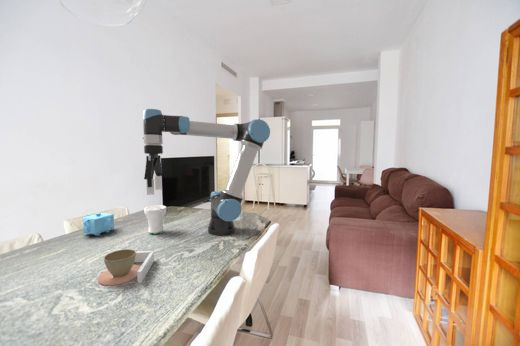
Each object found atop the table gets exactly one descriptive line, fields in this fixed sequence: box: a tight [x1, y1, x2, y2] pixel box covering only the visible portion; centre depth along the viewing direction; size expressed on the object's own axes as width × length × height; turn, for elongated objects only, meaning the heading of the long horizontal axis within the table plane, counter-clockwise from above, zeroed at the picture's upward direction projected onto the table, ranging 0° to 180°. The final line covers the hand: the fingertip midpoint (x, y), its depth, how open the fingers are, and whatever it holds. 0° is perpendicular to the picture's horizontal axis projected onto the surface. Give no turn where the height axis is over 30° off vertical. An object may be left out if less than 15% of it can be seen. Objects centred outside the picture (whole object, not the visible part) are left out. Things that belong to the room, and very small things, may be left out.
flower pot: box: [103, 248, 137, 277], centre depth 84 cm, size 10×10×7 cm
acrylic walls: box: [134, 250, 155, 284], centre depth 86 cm, size 16×17×4 cm
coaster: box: [97, 263, 142, 286], centre depth 84 cm, size 14×14×1 cm
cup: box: [143, 204, 167, 236], centre depth 128 cm, size 11×11×14 cm
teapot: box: [82, 212, 115, 237], centre depth 127 cm, size 16×18×11 cm
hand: (154, 191), depth 105 cm, fingers open, 13 cm apart
